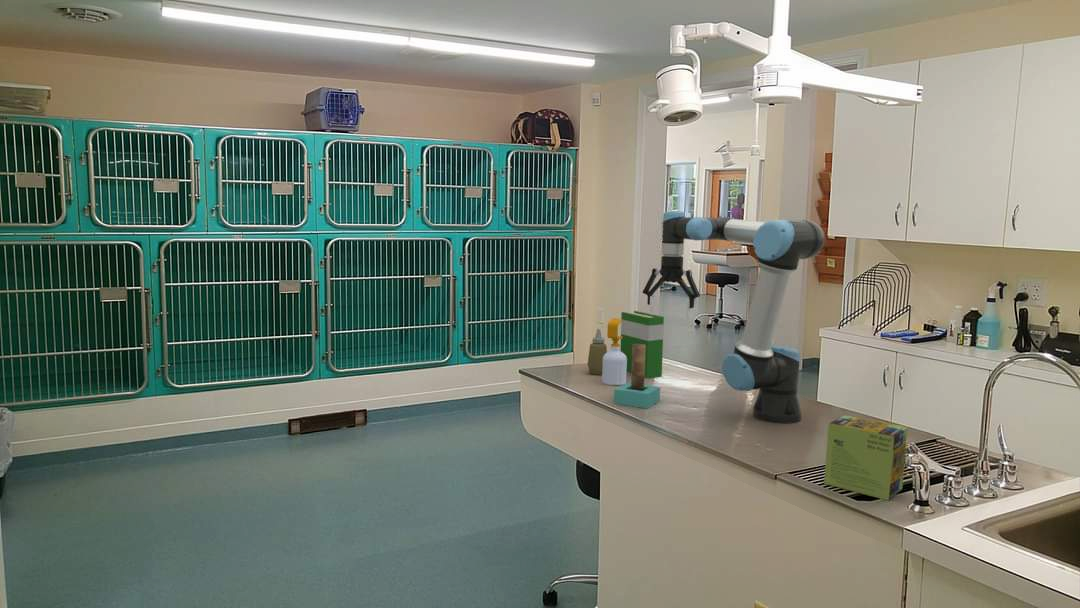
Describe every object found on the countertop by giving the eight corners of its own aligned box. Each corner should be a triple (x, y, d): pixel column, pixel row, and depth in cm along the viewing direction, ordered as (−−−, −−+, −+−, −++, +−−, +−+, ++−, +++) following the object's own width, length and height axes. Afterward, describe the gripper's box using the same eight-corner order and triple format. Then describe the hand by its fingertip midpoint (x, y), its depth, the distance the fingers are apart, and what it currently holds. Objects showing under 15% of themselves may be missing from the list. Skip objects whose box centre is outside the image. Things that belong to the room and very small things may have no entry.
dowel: (645, 401, 256) (647, 344, 254) (640, 404, 252) (642, 346, 250) (633, 400, 258) (635, 343, 256) (628, 402, 255) (630, 345, 252)
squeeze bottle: (607, 372, 302) (608, 328, 300) (607, 376, 294) (608, 331, 292) (587, 371, 303) (588, 327, 300) (586, 375, 295) (588, 330, 292)
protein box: (889, 501, 172) (895, 436, 170) (823, 484, 182) (827, 422, 180) (903, 489, 180) (908, 426, 178) (838, 473, 190) (843, 414, 188)
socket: (659, 401, 258) (660, 386, 257) (647, 408, 247) (647, 394, 247) (627, 396, 263) (627, 382, 263) (613, 403, 253) (614, 389, 252)
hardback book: (619, 369, 307) (621, 312, 304) (634, 368, 311) (635, 311, 307) (647, 378, 292) (649, 318, 289) (661, 376, 295) (663, 316, 292)
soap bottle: (629, 382, 284) (632, 318, 281) (619, 387, 277) (621, 321, 274) (609, 379, 289) (611, 316, 286) (597, 383, 282) (599, 319, 278)
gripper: (710, 256, 258) (707, 317, 261) (642, 253, 270) (640, 311, 273) (704, 257, 251) (701, 319, 254) (635, 254, 263) (633, 313, 266)
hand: (669, 315), depth 263 cm, fingers open, 13 cm apart
